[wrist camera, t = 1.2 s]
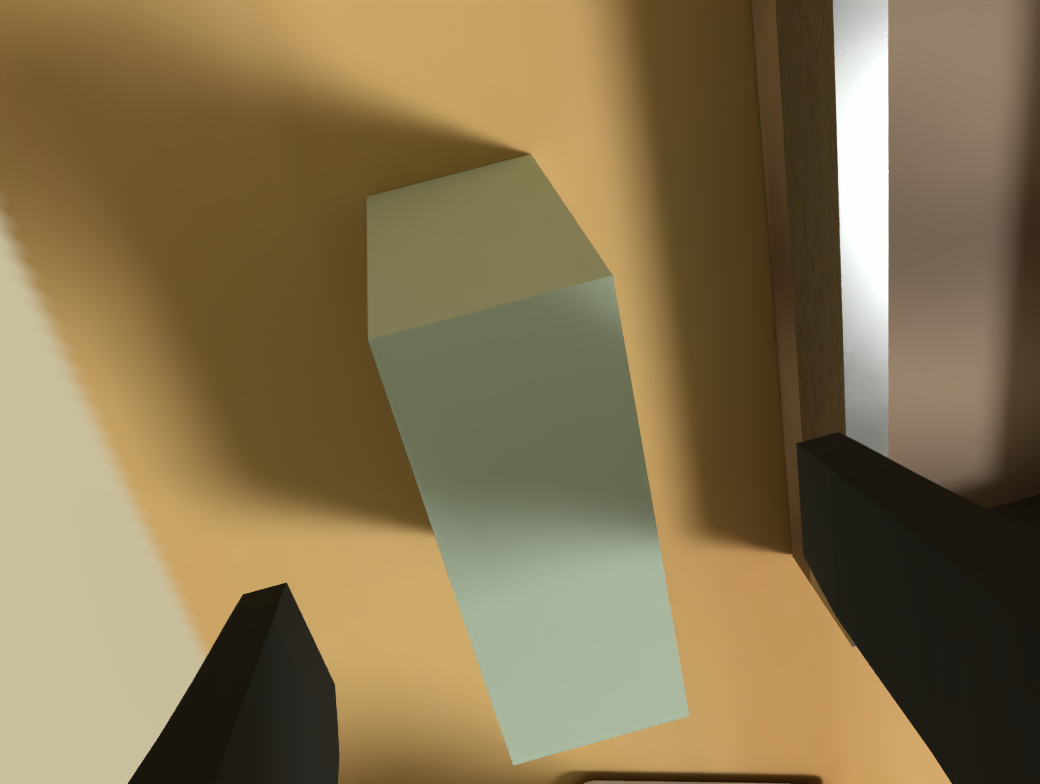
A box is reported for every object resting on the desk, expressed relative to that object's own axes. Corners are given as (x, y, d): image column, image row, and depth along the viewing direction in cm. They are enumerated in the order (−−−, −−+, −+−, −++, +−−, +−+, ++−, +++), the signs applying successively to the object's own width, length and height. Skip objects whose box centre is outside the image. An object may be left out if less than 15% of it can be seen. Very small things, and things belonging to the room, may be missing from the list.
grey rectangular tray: (1052, 484, 21) (1147, 563, 19) (792, 556, 21) (852, 646, 19) (1132, -191, 14) (1301, -212, 12) (744, -93, 14) (829, -92, 12)
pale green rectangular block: (603, 502, 20) (689, 716, 14) (473, 537, 20) (513, 765, 14) (530, 152, 16) (613, 275, 10) (366, 195, 16) (367, 340, 10)
